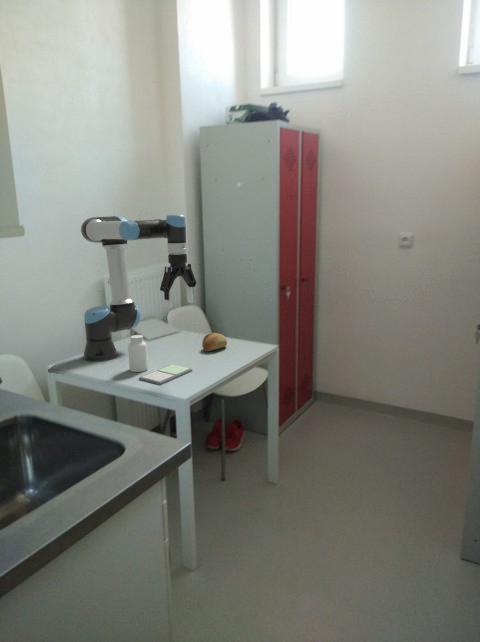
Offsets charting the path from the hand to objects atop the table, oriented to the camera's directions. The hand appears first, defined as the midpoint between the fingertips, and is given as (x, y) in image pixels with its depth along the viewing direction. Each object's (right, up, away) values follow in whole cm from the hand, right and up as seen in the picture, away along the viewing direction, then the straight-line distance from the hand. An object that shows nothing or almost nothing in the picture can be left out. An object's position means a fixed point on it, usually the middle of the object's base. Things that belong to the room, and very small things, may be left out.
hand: (179, 304), depth 210 cm
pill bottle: (-19, -28, +10) cm, 35 cm away
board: (-6, -29, +3) cm, 30 cm away
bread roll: (+12, -21, +40) cm, 47 cm away
